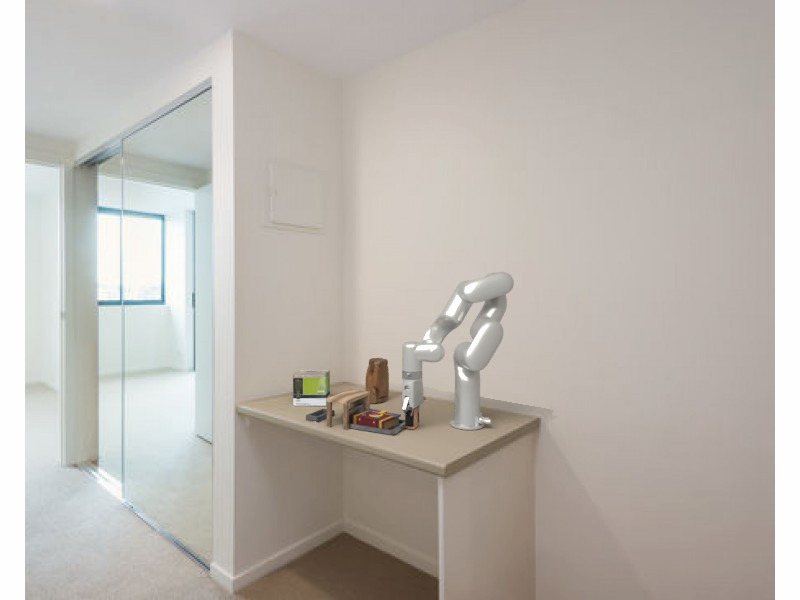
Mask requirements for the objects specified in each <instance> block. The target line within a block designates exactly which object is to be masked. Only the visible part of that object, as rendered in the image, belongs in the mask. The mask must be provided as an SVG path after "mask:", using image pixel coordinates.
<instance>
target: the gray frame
mask: <svg viewBox="0 0 800 600" xmlns="http://www.w3.org/2000/svg"><path fill="white" fill-rule="evenodd" d="M335 412H336V411H335V410H334V409H332V417H334V416H335ZM307 420H308V422H313V421H316V422H315V423H319V421H320V422H322V421H325V420H327V408H321V409H318V410H315V411H313V412H311V413H309V414H306V415H305V421H307Z"/></svg>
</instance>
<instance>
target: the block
mask: <svg viewBox="0 0 800 600" xmlns="http://www.w3.org/2000/svg"><path fill="white" fill-rule="evenodd" d="M388 363H389V361H388V359H387V358H382V357H375V358H374V357H373V358H369V360H368V367H367V369H366V373H365V391H368V392H370V404H377V403H378V404H379V403H384V402H387V401H388V399H389V394H390V393H389V392H390V389H389V388H390V382H389V381H390V379H389V378H390V374H389V366H388Z"/></svg>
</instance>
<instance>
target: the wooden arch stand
mask: <svg viewBox="0 0 800 600" xmlns="http://www.w3.org/2000/svg"><path fill="white" fill-rule="evenodd" d="M333 403H334V404H342V407H343V409H342V413H343V414H342V418H343V420H342V421H343V422H342V423H343V426H342V428H343V429H342V430H347V431H348V430H349V429H350V428H349V408H352V407H354V406H356V405H358V404H361V403H365V410H367V409H369V408H370V409H371V403H370V392H368V391H366V390H360V389H359V390H357V389H349V390H346V391H343V392H340V393H338V394H334V395H332V396H330V397H329V398H327V405H326V409H327V419H326V427H327V426H329V427H328V428H331V427H332V426H333V416H332V410H333Z"/></svg>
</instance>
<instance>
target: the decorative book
mask: <svg viewBox="0 0 800 600" xmlns="http://www.w3.org/2000/svg"><path fill="white" fill-rule="evenodd" d="M400 417H402V414H400V413H395V412H387V410H378V409H375V408H374V409H373V408H371V407H370V408H369V409H367V410H364V411H363V412H360V413H357V414H354V415H352V424H357V425H364V426H370V427H376V428H383V429H389V430H392V429H394V428H396V427H397V426H399V425H400V424H401V423H399V419H400Z"/></svg>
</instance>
